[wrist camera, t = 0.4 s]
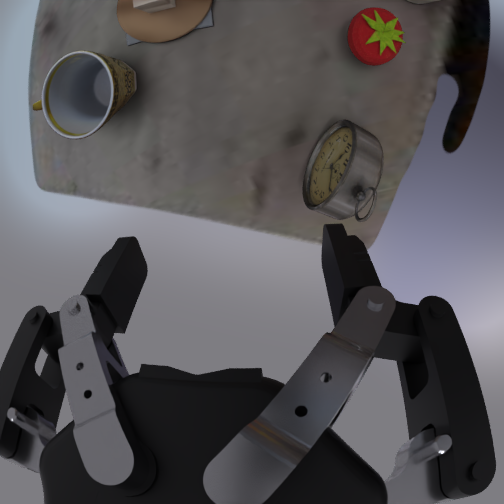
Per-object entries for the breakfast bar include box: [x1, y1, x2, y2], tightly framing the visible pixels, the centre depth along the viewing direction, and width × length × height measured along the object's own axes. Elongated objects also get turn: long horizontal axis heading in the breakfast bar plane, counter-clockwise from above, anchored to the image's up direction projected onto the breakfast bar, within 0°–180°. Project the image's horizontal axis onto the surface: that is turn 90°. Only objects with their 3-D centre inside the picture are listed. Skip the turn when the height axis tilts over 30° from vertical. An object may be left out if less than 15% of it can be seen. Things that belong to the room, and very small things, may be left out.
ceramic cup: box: [33, 51, 137, 139], centre depth 26 cm, size 13×10×10 cm
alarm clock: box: [303, 120, 384, 222], centre depth 29 cm, size 11×5×16 cm, turn 158°
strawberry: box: [348, 8, 406, 66], centre depth 21 cm, size 6×8×10 cm
